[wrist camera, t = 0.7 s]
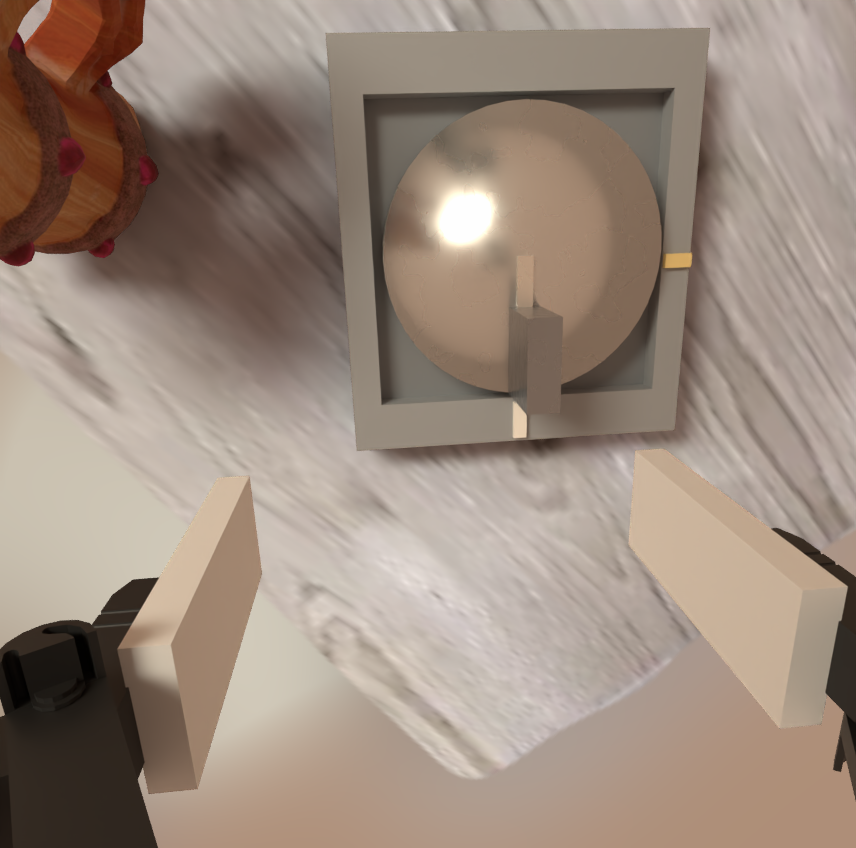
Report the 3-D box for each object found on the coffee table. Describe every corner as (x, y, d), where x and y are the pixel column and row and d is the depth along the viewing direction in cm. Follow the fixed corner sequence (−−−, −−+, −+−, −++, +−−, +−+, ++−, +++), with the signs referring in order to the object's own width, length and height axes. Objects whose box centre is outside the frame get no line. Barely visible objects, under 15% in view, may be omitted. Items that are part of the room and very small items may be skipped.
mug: (110, 293, 33) (-81, 345, 19) (-42, 195, 31) (-382, 170, 17) (261, 46, 31) (171, -109, 16) (106, -79, 29) (-153, -382, 14)
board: (329, 48, 31) (325, 31, 28) (682, 43, 32) (713, 26, 29) (357, 435, 37) (356, 452, 34) (654, 416, 38) (677, 431, 36)
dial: (373, 110, 30) (375, 83, 25) (654, 103, 32) (717, 76, 26) (389, 390, 35) (394, 423, 29) (636, 376, 36) (687, 405, 30)
